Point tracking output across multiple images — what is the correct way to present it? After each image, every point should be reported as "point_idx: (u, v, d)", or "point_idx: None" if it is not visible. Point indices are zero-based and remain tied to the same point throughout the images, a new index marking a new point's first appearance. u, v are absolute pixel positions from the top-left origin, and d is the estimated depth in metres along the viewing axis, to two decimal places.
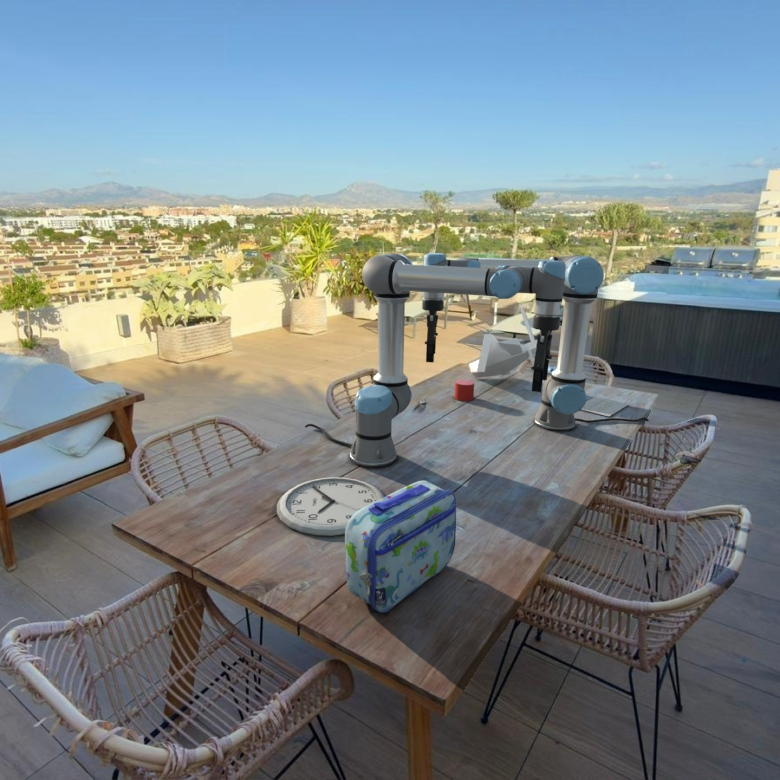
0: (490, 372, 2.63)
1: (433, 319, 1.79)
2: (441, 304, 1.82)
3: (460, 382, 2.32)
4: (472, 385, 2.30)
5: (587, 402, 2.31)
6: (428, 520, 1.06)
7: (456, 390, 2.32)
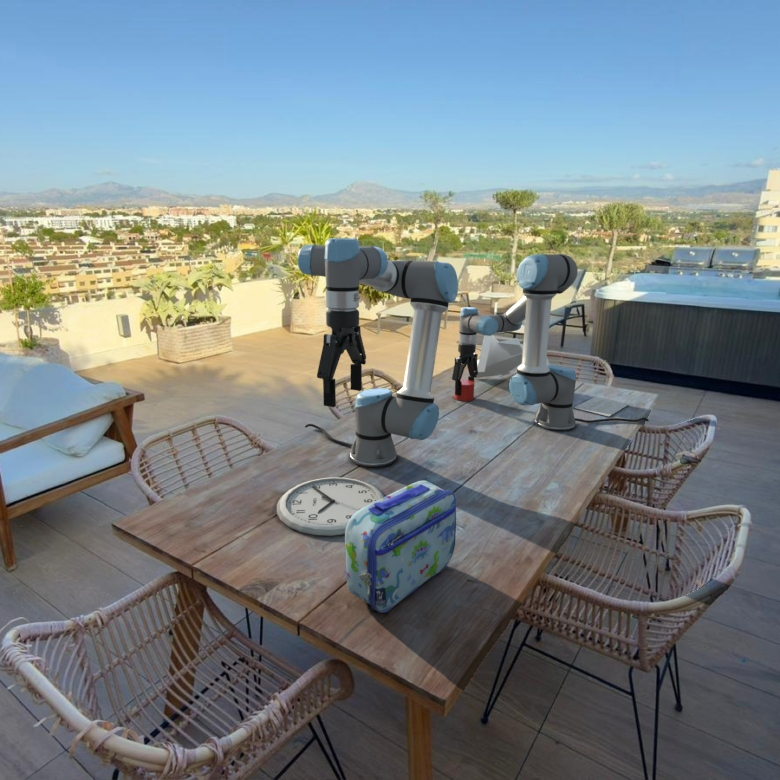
0: (490, 372, 2.63)
1: (458, 361, 2.24)
2: (469, 348, 2.24)
3: None
4: (472, 385, 2.30)
5: (587, 402, 2.31)
6: (428, 520, 1.06)
7: None
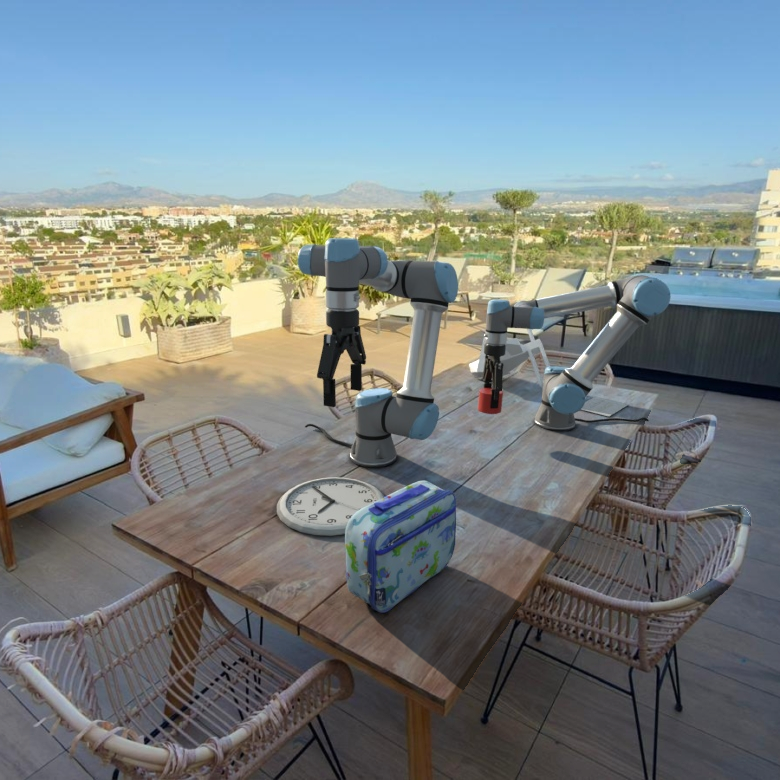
0: None
1: (501, 367, 1.82)
2: (505, 349, 1.85)
3: (489, 392, 1.90)
4: None
5: (587, 402, 2.31)
6: (428, 520, 1.06)
7: (490, 403, 1.89)
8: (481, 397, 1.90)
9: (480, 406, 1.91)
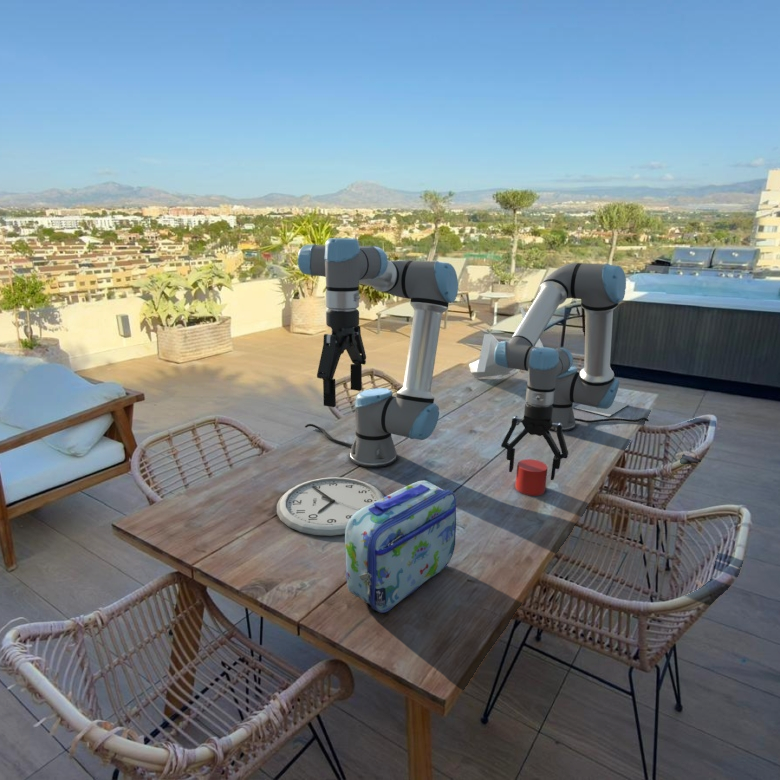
0: (490, 372, 2.63)
1: None
2: None
3: (538, 468, 1.50)
4: None
5: None
6: (428, 520, 1.06)
7: (544, 480, 1.50)
8: (534, 478, 1.48)
9: (532, 489, 1.49)
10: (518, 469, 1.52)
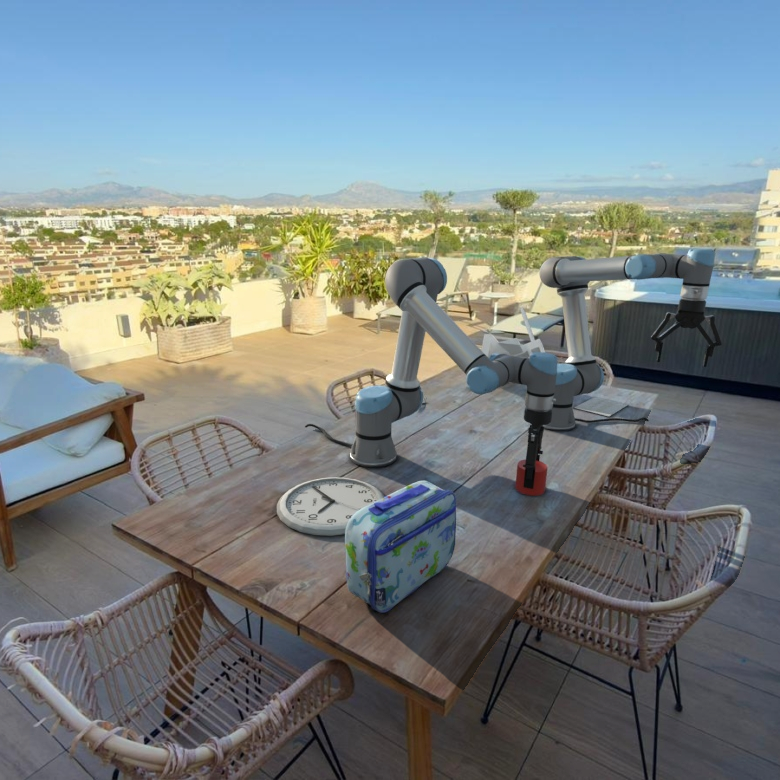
0: None
1: None
2: None
3: (538, 468, 1.50)
4: None
5: (587, 402, 2.31)
6: (428, 520, 1.06)
7: (544, 480, 1.50)
8: (534, 478, 1.48)
9: (532, 489, 1.49)
10: (518, 469, 1.52)
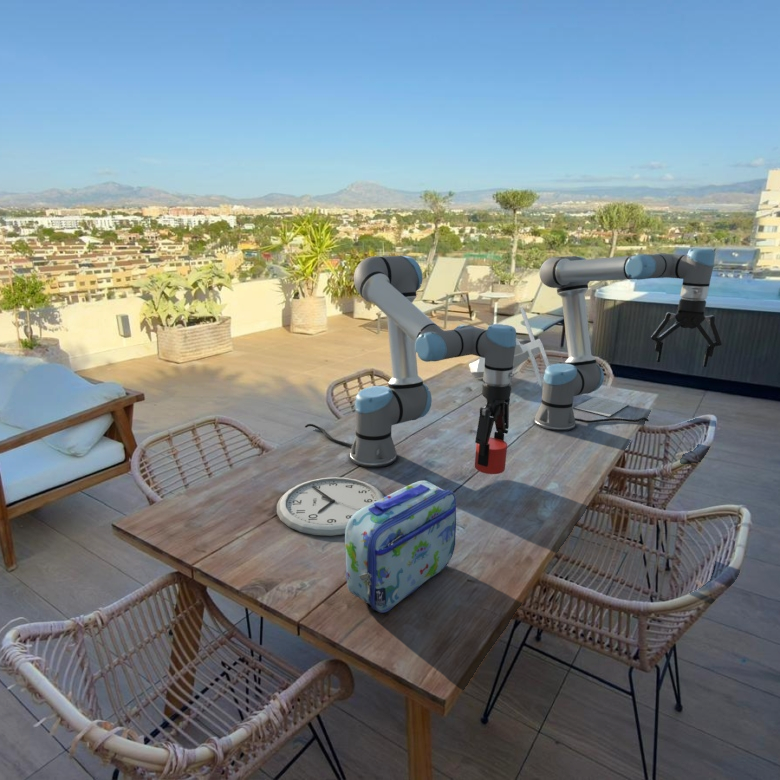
0: None
1: None
2: None
3: (496, 446, 1.44)
4: None
5: (587, 402, 2.31)
6: (428, 520, 1.06)
7: (501, 459, 1.44)
8: (489, 455, 1.43)
9: (487, 467, 1.44)
10: (476, 445, 1.47)
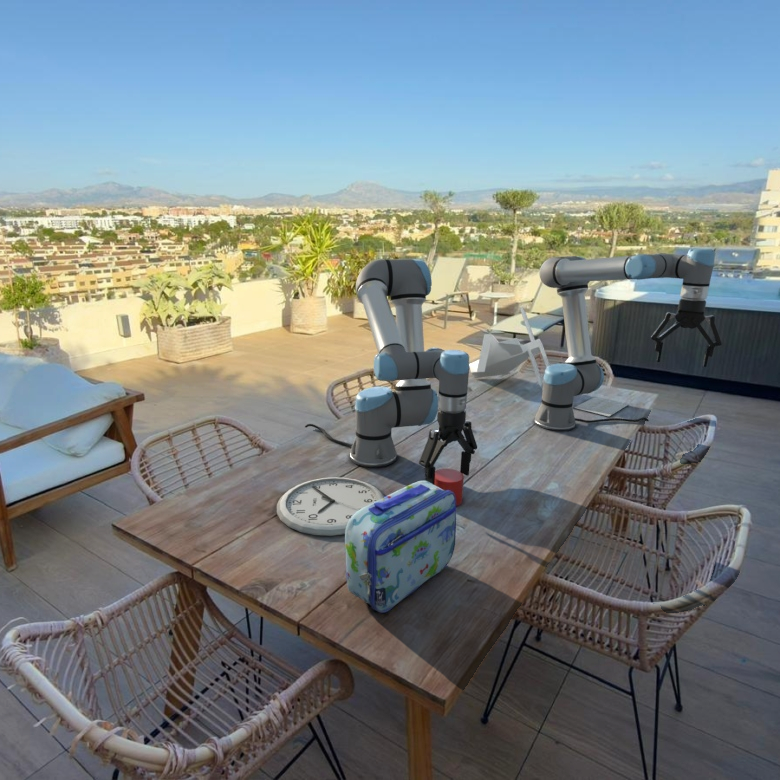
0: (490, 372, 2.63)
1: None
2: None
3: (450, 478, 1.43)
4: None
5: (587, 402, 2.31)
6: (428, 520, 1.06)
7: (454, 493, 1.42)
8: (441, 487, 1.42)
9: None
10: None
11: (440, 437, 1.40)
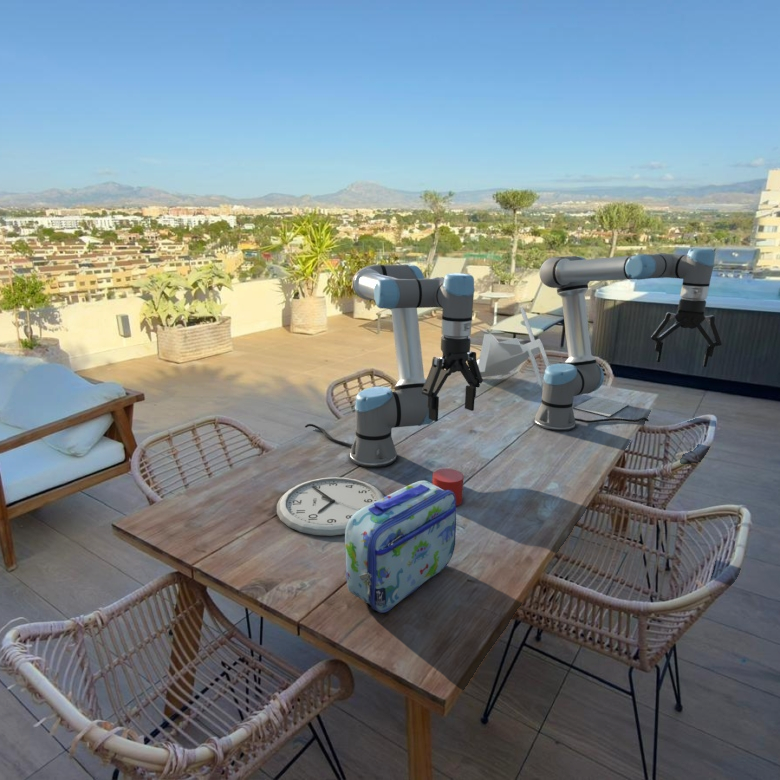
0: (490, 372, 2.63)
1: None
2: None
3: (450, 478, 1.43)
4: None
5: (587, 402, 2.31)
6: (428, 520, 1.06)
7: (454, 493, 1.42)
8: (441, 487, 1.42)
9: None
10: None
11: (444, 366, 1.34)
